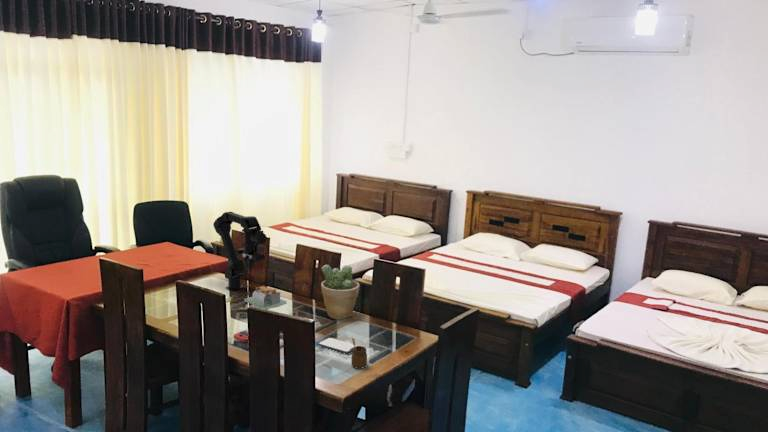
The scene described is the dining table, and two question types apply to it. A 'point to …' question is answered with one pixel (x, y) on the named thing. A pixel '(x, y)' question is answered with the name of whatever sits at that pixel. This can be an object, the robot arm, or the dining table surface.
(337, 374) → the dining table surface
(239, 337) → the gaming console
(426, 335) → the dining table surface
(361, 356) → the utensil holder
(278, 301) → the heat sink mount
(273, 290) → the orange brown bar
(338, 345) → the phone case
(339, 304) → the potted plant
